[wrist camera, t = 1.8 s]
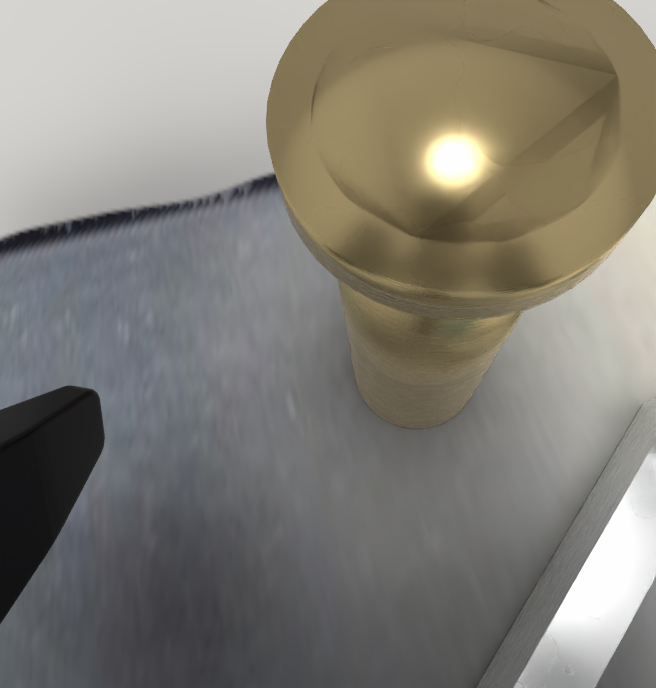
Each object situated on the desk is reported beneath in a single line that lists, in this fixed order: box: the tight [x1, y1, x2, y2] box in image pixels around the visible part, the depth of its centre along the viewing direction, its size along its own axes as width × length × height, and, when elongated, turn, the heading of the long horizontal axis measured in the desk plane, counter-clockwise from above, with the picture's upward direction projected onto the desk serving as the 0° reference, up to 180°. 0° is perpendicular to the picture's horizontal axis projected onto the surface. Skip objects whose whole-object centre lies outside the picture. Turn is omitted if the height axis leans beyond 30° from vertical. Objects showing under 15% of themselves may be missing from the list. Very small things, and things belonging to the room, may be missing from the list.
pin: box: [266, 0, 656, 429], centre depth 14 cm, size 5×5×13 cm
